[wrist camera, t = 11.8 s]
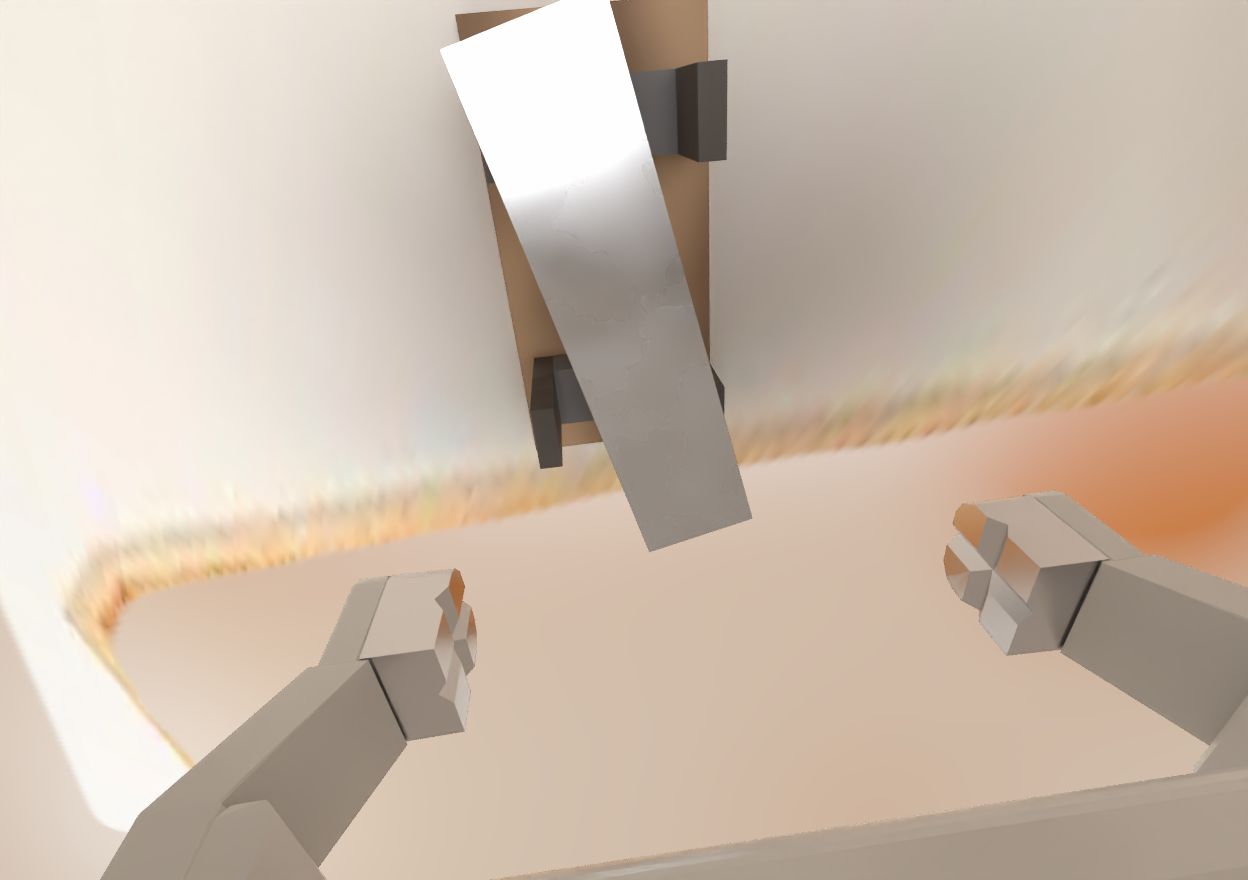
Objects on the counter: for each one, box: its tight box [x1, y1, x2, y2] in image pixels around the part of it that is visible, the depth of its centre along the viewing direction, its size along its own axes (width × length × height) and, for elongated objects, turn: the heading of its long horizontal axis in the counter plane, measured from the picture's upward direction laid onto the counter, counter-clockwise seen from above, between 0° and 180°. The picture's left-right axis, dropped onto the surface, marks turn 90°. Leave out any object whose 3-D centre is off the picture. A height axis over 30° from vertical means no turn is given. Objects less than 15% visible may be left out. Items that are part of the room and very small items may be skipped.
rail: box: [440, 0, 752, 552], centre depth 21 cm, size 18×4×4 cm, turn 19°
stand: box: [455, 0, 727, 469], centre depth 26 cm, size 10×20×7 cm, turn 5°
